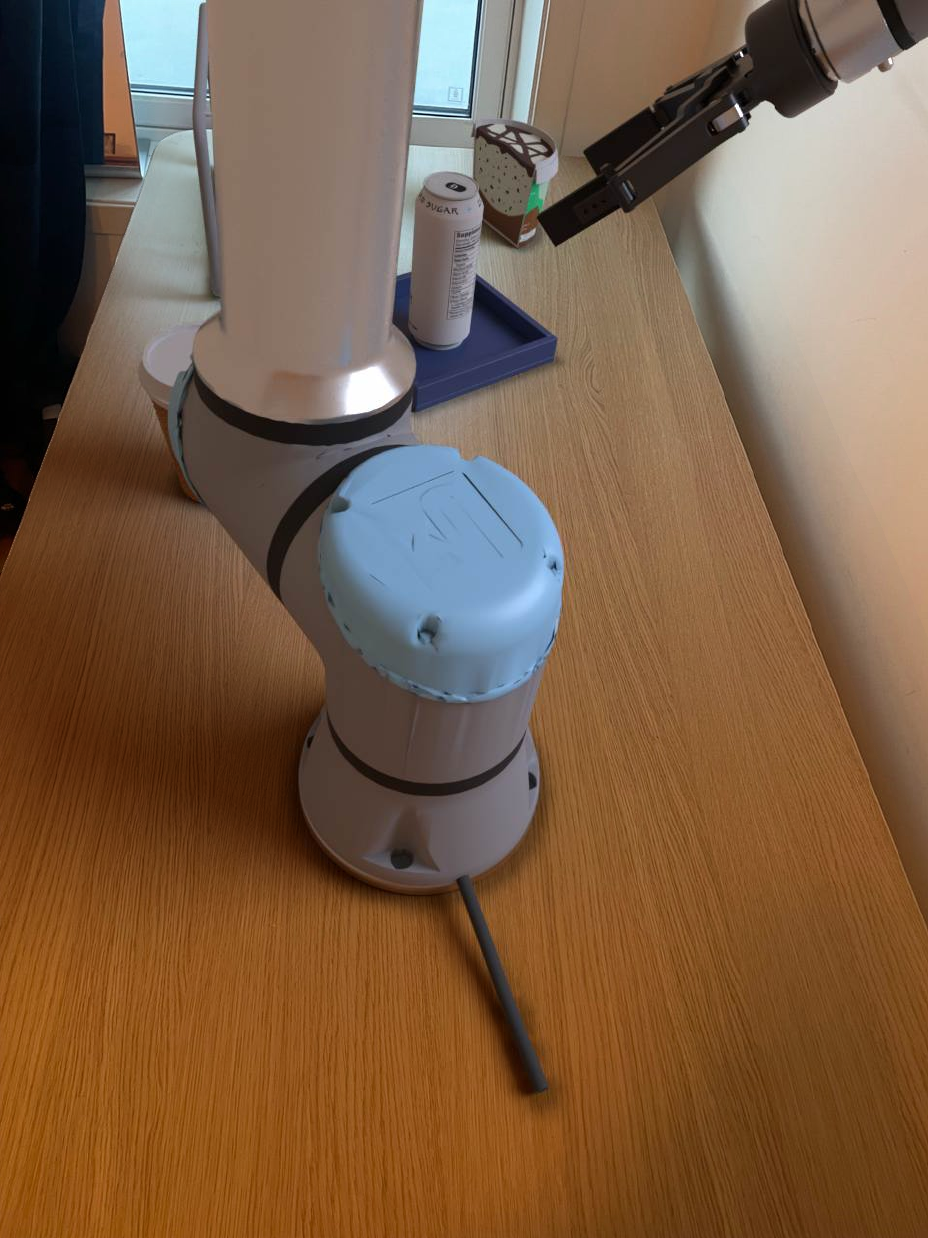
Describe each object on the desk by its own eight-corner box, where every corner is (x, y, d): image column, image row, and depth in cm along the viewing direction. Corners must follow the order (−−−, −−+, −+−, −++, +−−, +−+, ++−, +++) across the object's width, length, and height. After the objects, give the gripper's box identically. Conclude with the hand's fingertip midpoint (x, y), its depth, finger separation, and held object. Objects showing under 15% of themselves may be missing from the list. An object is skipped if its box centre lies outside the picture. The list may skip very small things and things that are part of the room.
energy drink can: (430, 311, 95) (441, 161, 84) (480, 333, 93) (498, 183, 82) (395, 337, 91) (402, 184, 80) (446, 361, 90) (461, 208, 78)
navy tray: (553, 360, 93) (558, 337, 91) (415, 412, 85) (417, 388, 83) (454, 280, 100) (457, 257, 98) (320, 321, 93) (320, 297, 91)
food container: (567, 243, 108) (584, 154, 100) (525, 254, 105) (539, 164, 98) (505, 195, 114) (516, 108, 106) (464, 205, 111) (472, 117, 104)
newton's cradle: (320, 305, 95) (315, 122, 81) (213, 305, 93) (190, 118, 79) (305, 168, 114) (300, 0, 100) (216, 166, 112) (198, -5, 98)
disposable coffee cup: (256, 530, 74) (243, 406, 65) (140, 505, 74) (111, 378, 65) (294, 455, 80) (288, 332, 71) (187, 433, 80) (167, 307, 71)
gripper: (825, 153, 58) (552, 304, 72) (857, 34, 74) (629, 176, 87) (770, 37, 55) (496, 219, 68) (816, -61, 71) (586, 102, 84)
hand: (570, 195), depth 78 cm, fingers open, 13 cm apart
